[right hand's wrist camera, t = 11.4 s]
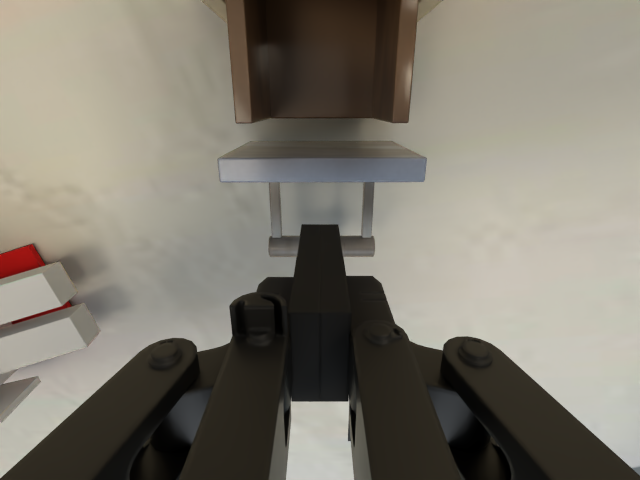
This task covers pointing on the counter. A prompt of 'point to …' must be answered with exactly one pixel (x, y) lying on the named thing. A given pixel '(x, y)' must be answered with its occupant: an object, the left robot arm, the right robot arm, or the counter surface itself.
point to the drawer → (322, 97)
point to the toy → (36, 320)
